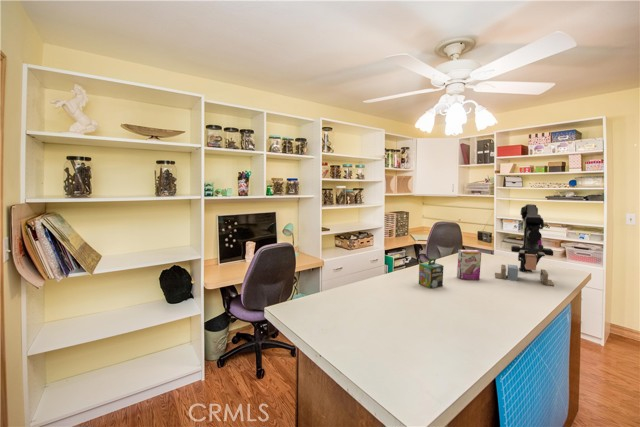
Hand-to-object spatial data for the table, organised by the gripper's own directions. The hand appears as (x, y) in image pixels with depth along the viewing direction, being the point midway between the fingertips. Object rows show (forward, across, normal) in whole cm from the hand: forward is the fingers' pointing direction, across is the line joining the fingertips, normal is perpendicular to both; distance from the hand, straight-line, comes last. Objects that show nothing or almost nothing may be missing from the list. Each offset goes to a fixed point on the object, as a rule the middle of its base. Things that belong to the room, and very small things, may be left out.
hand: (530, 265), depth 163 cm
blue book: (+9, -8, 0) cm, 12 cm away
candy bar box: (+9, -30, -13) cm, 34 cm away
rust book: (+2, 0, 0) cm, 2 cm away
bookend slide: (+9, +8, 0) cm, 12 cm away
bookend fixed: (+9, -14, 0) cm, 17 cm away
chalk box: (+9, -47, -35) cm, 59 cm away
